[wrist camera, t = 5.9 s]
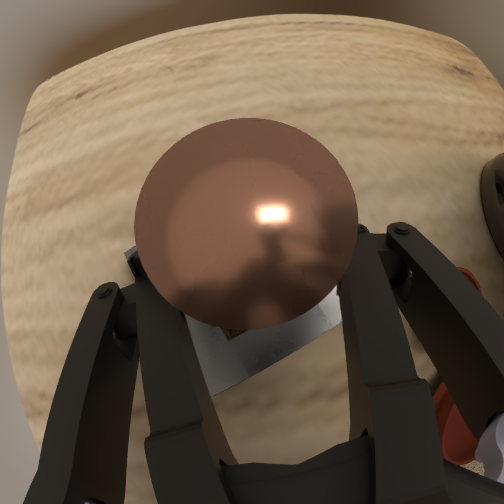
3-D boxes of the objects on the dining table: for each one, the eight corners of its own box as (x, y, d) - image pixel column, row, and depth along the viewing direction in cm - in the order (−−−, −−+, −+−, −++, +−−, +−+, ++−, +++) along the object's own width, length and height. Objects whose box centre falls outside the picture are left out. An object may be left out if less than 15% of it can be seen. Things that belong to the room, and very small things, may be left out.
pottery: (415, 475, 17) (435, 493, 13) (379, 298, 21) (403, 294, 17) (494, 418, 17) (518, 425, 13) (468, 255, 22) (496, 244, 17)
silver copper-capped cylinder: (270, 220, 21) (278, 93, 8) (314, 290, 19) (398, 248, 7) (198, 261, 20) (108, 182, 7) (240, 334, 19) (198, 373, 6)
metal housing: (283, 178, 23) (286, 160, 20) (361, 299, 21) (376, 296, 18) (139, 260, 22) (124, 252, 19) (209, 390, 20) (201, 401, 17)
